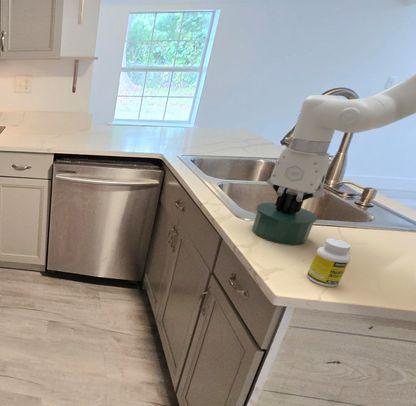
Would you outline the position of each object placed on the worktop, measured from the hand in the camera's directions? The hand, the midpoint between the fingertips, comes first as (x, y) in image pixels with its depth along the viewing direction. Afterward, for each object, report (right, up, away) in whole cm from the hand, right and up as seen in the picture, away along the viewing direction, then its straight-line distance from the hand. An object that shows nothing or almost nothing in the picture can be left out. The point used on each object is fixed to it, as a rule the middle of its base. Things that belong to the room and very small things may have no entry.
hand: (286, 210), depth 100 cm
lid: (0, -1, 0) cm, 1 cm away
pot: (0, -7, +3) cm, 7 cm away
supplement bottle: (-6, -16, -17) cm, 24 cm away
